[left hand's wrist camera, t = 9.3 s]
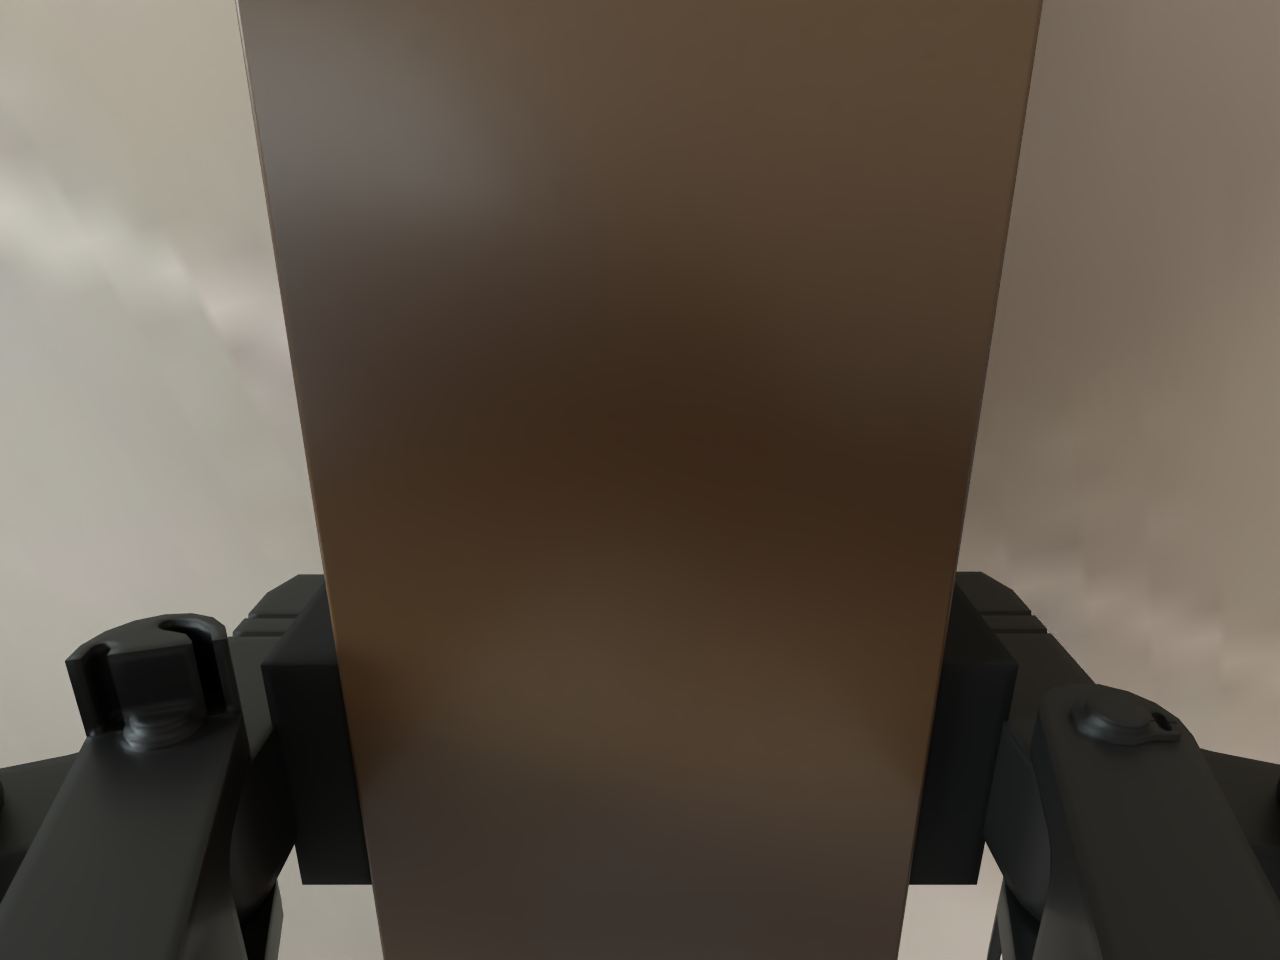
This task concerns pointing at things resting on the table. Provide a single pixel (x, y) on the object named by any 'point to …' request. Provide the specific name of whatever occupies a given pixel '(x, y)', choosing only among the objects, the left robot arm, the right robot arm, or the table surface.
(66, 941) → the left robot arm
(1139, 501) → the table surface
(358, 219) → the bar
